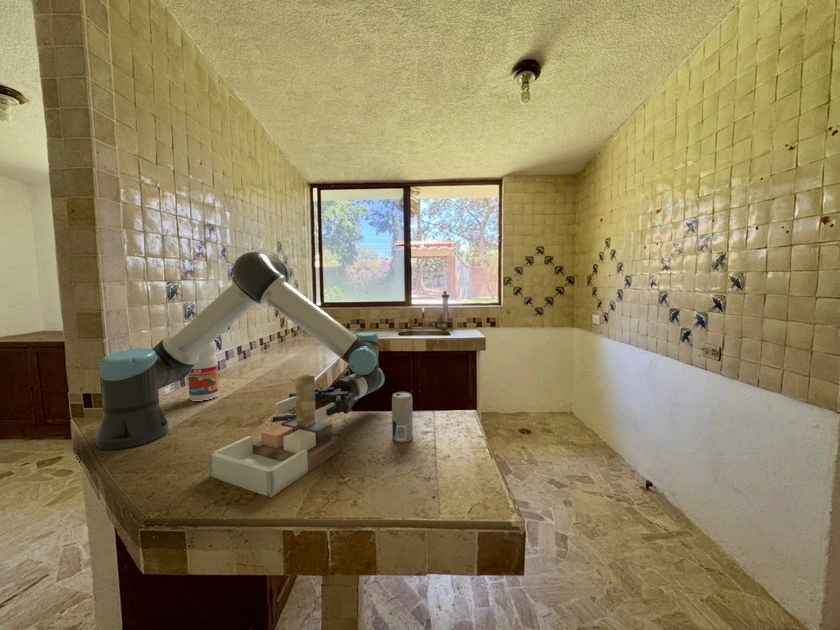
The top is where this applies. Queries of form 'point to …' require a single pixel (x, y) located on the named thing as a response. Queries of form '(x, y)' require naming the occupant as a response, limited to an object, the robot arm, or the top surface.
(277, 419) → the bracket
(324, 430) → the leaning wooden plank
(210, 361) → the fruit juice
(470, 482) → the top surface
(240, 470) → the tray
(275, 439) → the tile terracotta
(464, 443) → the top surface
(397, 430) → the energy drink
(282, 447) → the board
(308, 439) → the tile cream
